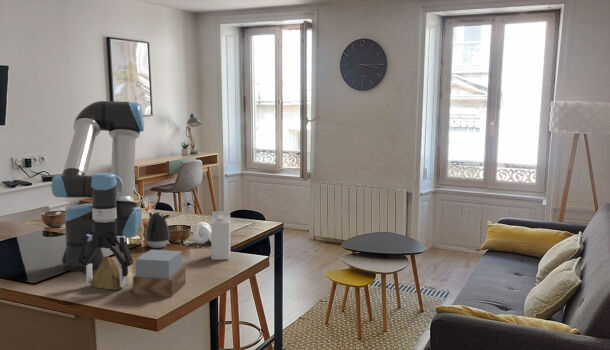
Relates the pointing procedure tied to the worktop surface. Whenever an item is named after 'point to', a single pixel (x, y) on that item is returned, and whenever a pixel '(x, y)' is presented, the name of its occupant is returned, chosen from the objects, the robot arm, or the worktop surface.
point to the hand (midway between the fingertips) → (106, 284)
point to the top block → (159, 264)
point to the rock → (107, 275)
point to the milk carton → (220, 236)
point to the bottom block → (159, 285)
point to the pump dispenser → (157, 231)
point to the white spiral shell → (202, 233)
